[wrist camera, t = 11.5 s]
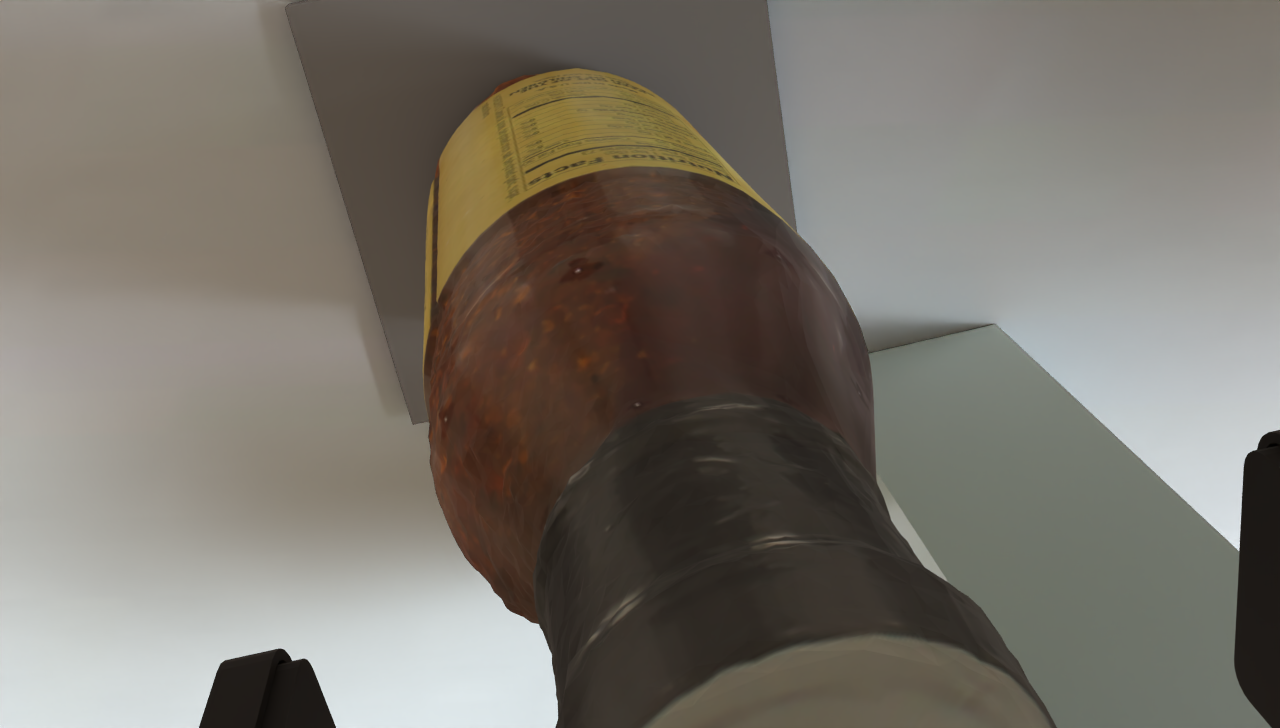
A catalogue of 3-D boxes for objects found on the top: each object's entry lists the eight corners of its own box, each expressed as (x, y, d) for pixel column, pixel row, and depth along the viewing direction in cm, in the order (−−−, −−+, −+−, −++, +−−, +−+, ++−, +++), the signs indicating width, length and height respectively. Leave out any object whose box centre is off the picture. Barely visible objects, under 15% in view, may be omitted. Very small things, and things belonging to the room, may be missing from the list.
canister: (1002, 315, 31) (1553, 814, 15) (1011, 489, 33) (1494, 1072, 18) (800, 362, 30) (1155, 918, 15) (824, 534, 33) (1151, 1166, 17)
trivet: (748, -93, 25) (754, -91, 25) (803, 323, 30) (810, 333, 29) (288, 4, 25) (284, 8, 24) (413, 413, 29) (412, 424, 29)
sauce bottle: (636, 353, 29) (940, 1226, 11) (388, 267, 27) (270, 1144, 9) (753, 103, 27) (1369, 687, 9) (492, -9, 25) (601, 440, 7)
